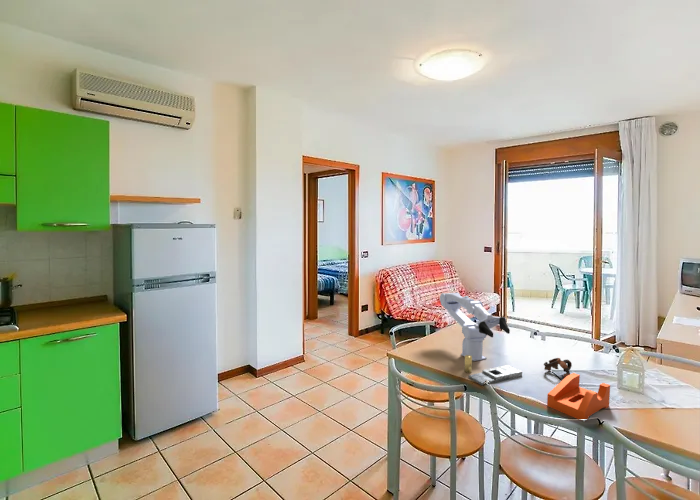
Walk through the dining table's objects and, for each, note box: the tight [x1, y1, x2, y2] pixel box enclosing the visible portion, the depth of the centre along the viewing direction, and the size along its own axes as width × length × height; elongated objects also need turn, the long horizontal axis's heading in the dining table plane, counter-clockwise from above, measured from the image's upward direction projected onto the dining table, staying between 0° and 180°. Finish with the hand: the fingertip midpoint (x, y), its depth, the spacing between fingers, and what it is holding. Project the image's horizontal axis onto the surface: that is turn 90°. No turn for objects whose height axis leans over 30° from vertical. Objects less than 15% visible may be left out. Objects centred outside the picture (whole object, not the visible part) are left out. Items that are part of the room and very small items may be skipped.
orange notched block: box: [546, 372, 611, 420], centre depth 135 cm, size 18×13×8 cm
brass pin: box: [464, 355, 473, 374], centre depth 166 cm, size 3×3×7 cm
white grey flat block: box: [468, 364, 523, 386], centre depth 161 cm, size 22×8×2 cm, turn 113°
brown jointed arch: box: [543, 357, 573, 379], centre depth 163 cm, size 12×10×8 cm
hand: (500, 333), depth 161 cm, fingers open, 7 cm apart
